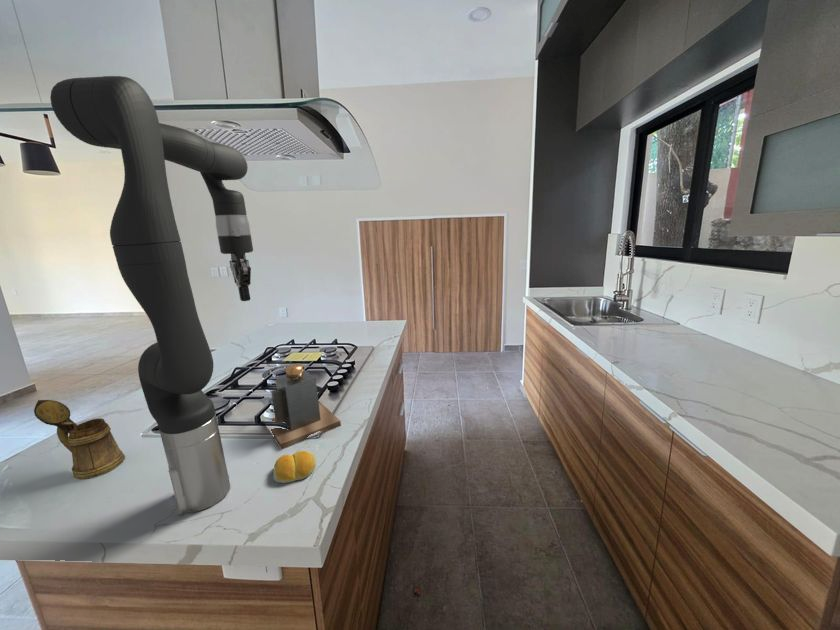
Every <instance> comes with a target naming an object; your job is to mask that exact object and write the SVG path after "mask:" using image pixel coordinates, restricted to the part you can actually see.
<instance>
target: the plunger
mask: <svg viewBox="0 0 840 630" xmlns="http://www.w3.org/2000/svg"><path fill="white" fill-rule="evenodd" d="M284 369H285V375H286V377H287V378H290V379H293V380H296V379H298V377H301V376H303V374H304V372H303V370H304V365H303V364H301V363H292V364H289V365H286V366H285V368H284Z"/></svg>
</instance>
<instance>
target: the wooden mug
mask: <svg viewBox="0 0 840 630" xmlns="http://www.w3.org/2000/svg"><path fill="white" fill-rule="evenodd" d="M33 414H34V416H35V417H36V419H38V420H39V421H40V422H42V424H43V423H44V424H45V425H49V426H55V427H56V434H57V438H58V440H59V442H60V443H61V444H62V446H64V447H65V448H66V449H67V450H68V451H69V452H70V454H71V458H72V467H71V473H72V477H73V478H74V479H77V480H89V479H93V478H98V477H99V476H102V475H104V474H107V473H109V472H111V471H113V470H114V469H116V468H117V467H119V466H120V465H122V463H124V461H125V460H126V456H125V454H124V452H123V450H121V448H120V447H119V445H118V443H117V441H116V439H115V437H114V435H113V434H112V432H111V427H110V425H109V424H108V423H107V422H106V420H105V419H104V418H101V417H100V418H93V419H88V420H86V421H84V422H81V423H79V424H77V423H76V422H74V421H73V420H72V419H71V410H70V409H69V407H68V406H67V405H66V404H64V403H62V402H60V401H57V400H54V399H37V402H36V404H35V406H34V409H33Z"/></svg>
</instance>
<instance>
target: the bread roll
mask: <svg viewBox="0 0 840 630" xmlns="http://www.w3.org/2000/svg"><path fill="white" fill-rule="evenodd" d="M316 465H317V460H316V457H315V456H314V454H313V453H311V452H310V451H308V450H306V451H305V450H299V451H296V452H294V453H293V454H283V455H281V456H279V457H278V459H276V461H275V463H274V465H273V478H274V479H273V480H275V482H278V483H281V484H282V483H283V484H284V483H285V484H287V483H292V482H295V481H299V480H303V479H306V478H308V477H309V476H310V475H311V474H312V472H313V471H314V469H315V468H316Z"/></svg>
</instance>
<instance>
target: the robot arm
mask: <svg viewBox="0 0 840 630" xmlns="http://www.w3.org/2000/svg"><path fill="white" fill-rule="evenodd" d="M50 104H51V109H52V111H53V113H54V115H55V117H56V118H57V120H58V121H59V123H60V124H61V125H62V127H63V128H64V129H65V130H67V132H69V133H70V134H71V135H72V136H73V137H74V138H76V139H78V140H80V141H81V142H83V143H85V144H88V145H91V146H95V147H100V148H109V149H116V150H120V153H121V156H122V163H123V169H124V182H123V187H122V190H121V194H120V197H119V199H118V202H117V205H116V207H115V209H114V213H113V216H112V219H111V224H110V228H109V237H110V242H111V246H112V249H113V253H114V257H115V260H116V265H117V268H118V270H119V273H120V275H121V277H122V280H123V282H124V283H125V285H126V286H127V288H128V290H129V291H130V293H131V294H132V296H133V297H134V298H135V300H136V301H137V303H138V304H139V306H140V307H141V308H142V310H143V311H144V313H145V314H146V316H147V318H148V320H149V321H150V324H151V326H152V328H153V331H154V334H155V339H156V342H155V343H153V344H151V345H149V346H148V347H147V348H146V349H145V350H144V351H143V352H142V353H141V355H140V358H139V360H138V364H137V365H138V366H137V372H138V379H139V381H140V386H141V389H142V392H143V395H144V398H145V402H146V405H147V406H146V407H147V408H148V411H149V413H150V415H151V417H152V418H153V419H154V420H155V422H156V424H157V426H158V430H159V433H160V437H161V442H162V445H163V449H164V454H165V458H166V460H167V465H168V473H169V477H170V481H171V486H172V489H173V493H174V497H175V502H176V505H177V509H178V512H179V515H184V514H186V513H193V512H194V513H195V512H199V511H203V510H206V509H208V508H211V507H212V506H214V505H216V504H218V503H219V502H220V501H222V500H223V499H224V498H225V497H226V495H228V493H229V491H230V489H231V483H230V476H229V472H228V468H227V467H228V466H227V463H226V459H225V453H224V447H223V443H222V439H221V433H220V428H219V423H218V419H217V415H216V409H215V405H214V402H213V400H212V399H211V398H210V397H209V396H207V395H206V393H204V391H203V389H204V388H206V387H207V385H208V384H209V382H210V381H211V379H212V376H213V373H214V359H213V358H214V357H213V354H212V352H211V348H210V346H209V342H208V341H207V338H206V335H205V332H204V329H203V327H202V325H201V324H202V323H201V321H200V318H199V314H198V310H197V306H196V303H195V298H194V294H193V289H192V286H191V282H190V279H189V274H188V269H187V264H186V259H185V254H184V253H185V252H184V250H183V245H182V241H181V237H180V236H181V235H180V233H179V230H178V226H177V223H176V222H177V221H176V217H175V213H174V212H175V211H174V208H173V205H172V200H171V199H172V198H171V194H170V189H169V184H168V183H169V182H168V176H167V169H166V168H167V167H166V161H168V162H169V163H170V162H171V163H174V164H177V165H179V166H183V167H185V168H188V169H190V170H193V171H196V172H199V173H200V175H201V177H202V179H203V181H204V183H205V185H206V187H207V190H208V193H209V195H210V197H211V200H212V205H213V209H214V210H213V211H214V215H215V217H214V218H215V227H216V228H215V229H216V235H217V239H218V245H219V250H220V251H219V252H220V253H221V254H223V255H230V258H231V259H230V260H229V261H228V263H229V268H230V270H231V273H232V277H233V280H234V283H235V285H236V287H237V288H238V295H239V299H240V301H241V302H248V301H250V300H251V294H250V289H249V287H250V285H251V282H252V281H251V280H252V279H251V278H252V277H251V275H252V274H251V273H252V267H251V265H250V261H249V259H247V258H246V257H247V256H246V254H247V253H248V254H249V253H252V252H254V247H253V241H252V240H253V239H252V234H251V227H250V223H249V220H248V216H247V209H246V208H247V207H246V202H245V197H244V194H243V193H242V192H240V191H239V190H234V189H229V188H226V186H225V184H224V182H223V181H237V180H241V179H243V178H244V177H245V176H246V175H247V172H248V163H247V160H246V158H245V157H244V155H243V154H242V153H241V152H240V151H239V150H238V149H237V148H234V147H232V146H230V145H227V144H224V143H223V144H222V143H219V142H214V141H210V140H208V139H206V138H204V137H202V136H200V135H198V134H196V133H194V132H192V131H189V130H187V129H185V128H181V127H179V126H178V127H177V126H175V125H170V124H166V123H160V122H159V121H160V120H159V118H158V113H157V110H156V108H155V105H154V103H153V101H152V99H151V98H150V96H149V94H148V93H147V91H146V89H144V88H143V86H142V85H141V84H140V83H139V82H137V81H136V80H134V79H133V78H130V77H127V76H121V75H118V76H117V75H116V76H115V75H109V76H108V75H103V76H92V77H91V76H90V77H89V76H87V77H73V78H67V79H63V80H61V81H59V82H57V83H55V85H54V86H52V89H51V91H50Z"/></svg>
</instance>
